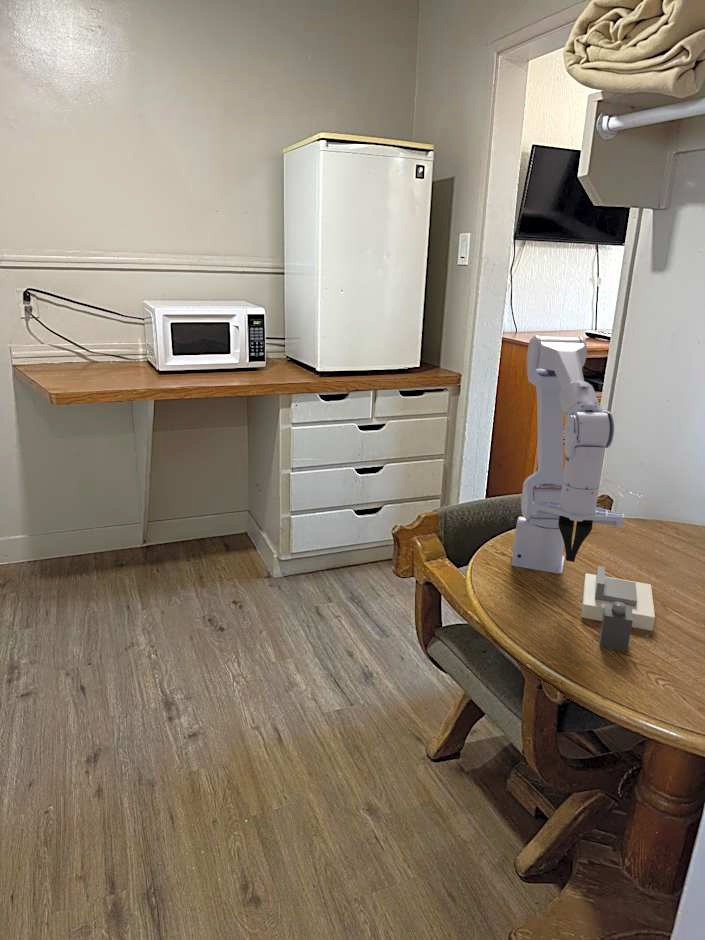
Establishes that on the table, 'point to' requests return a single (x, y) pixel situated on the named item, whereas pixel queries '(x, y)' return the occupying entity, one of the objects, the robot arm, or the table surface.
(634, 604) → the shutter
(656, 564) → the table surface
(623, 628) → the plug
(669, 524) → the table surface
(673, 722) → the table surface
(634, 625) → the socket plate
